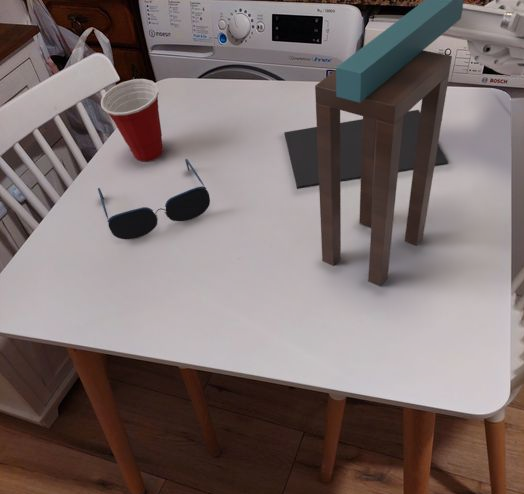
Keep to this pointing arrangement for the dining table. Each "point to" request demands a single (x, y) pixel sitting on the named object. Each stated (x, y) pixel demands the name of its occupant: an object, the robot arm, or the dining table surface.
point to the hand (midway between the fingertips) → (472, 14)
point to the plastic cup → (136, 116)
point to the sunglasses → (146, 220)
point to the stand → (381, 155)
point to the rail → (395, 48)
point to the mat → (349, 150)
